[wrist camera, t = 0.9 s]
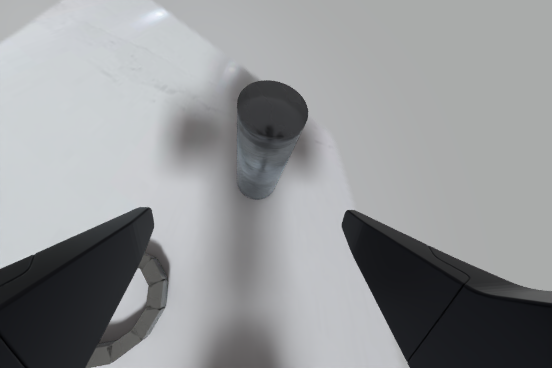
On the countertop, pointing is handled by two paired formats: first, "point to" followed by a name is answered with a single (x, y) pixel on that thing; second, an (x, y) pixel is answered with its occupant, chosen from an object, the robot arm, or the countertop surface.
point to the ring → (147, 320)
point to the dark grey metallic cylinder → (266, 134)
